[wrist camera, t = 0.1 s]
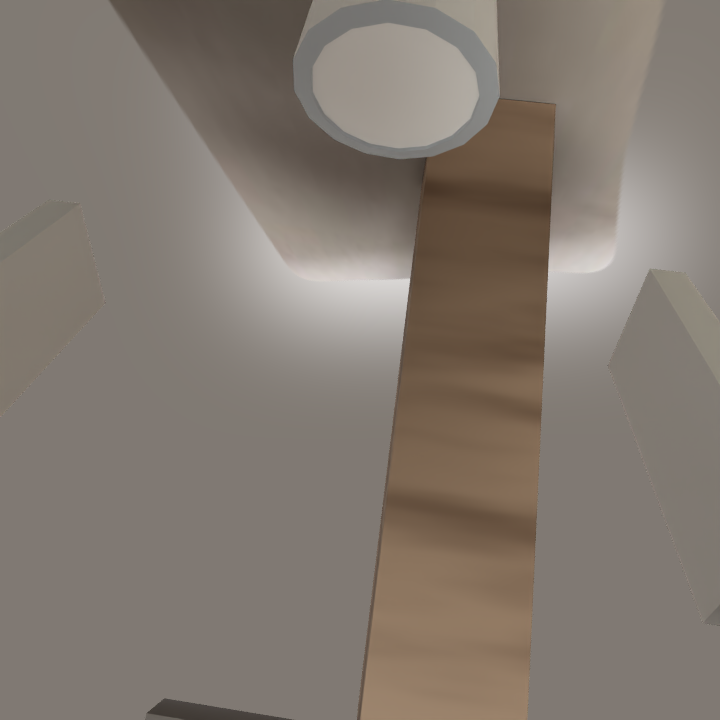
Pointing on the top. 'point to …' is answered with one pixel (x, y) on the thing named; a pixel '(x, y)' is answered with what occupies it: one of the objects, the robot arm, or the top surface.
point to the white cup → (399, 73)
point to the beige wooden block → (200, 712)
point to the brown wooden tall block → (466, 436)
